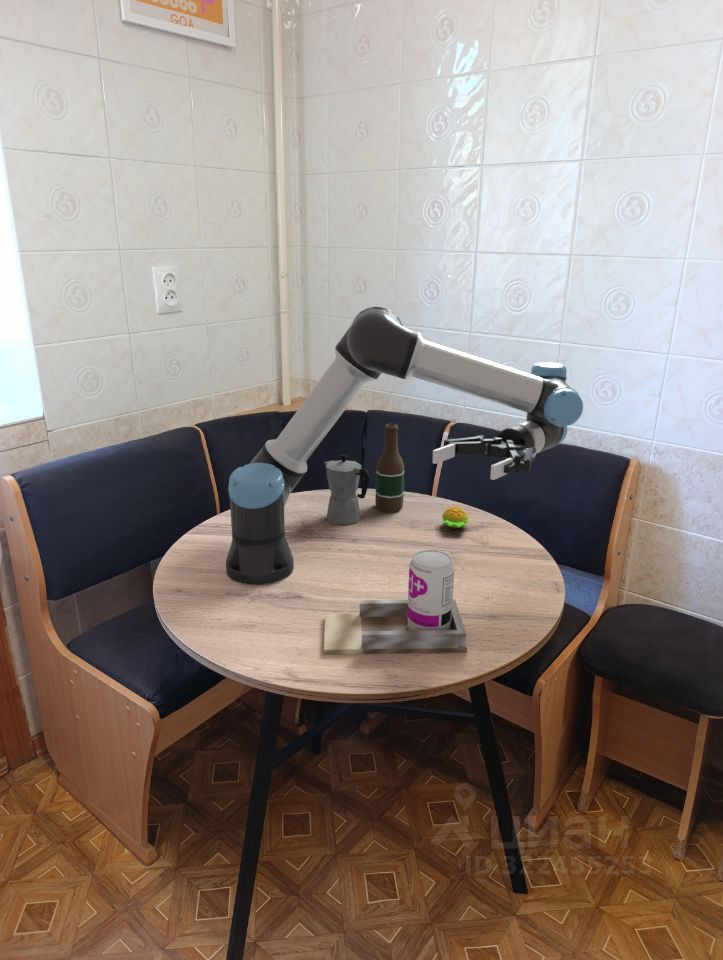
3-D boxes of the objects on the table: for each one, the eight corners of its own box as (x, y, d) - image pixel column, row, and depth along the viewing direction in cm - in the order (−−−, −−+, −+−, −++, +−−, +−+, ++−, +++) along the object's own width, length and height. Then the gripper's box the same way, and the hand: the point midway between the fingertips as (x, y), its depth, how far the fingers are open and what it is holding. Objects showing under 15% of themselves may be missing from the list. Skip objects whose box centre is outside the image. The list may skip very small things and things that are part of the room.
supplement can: (419, 645, 120) (422, 572, 115) (399, 622, 128) (402, 552, 122) (458, 636, 123) (463, 564, 118) (437, 614, 130) (441, 545, 125)
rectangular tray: (324, 654, 119) (323, 635, 118) (325, 618, 131) (324, 600, 129) (467, 652, 120) (468, 633, 119) (455, 617, 132) (457, 599, 130)
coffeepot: (313, 517, 178) (312, 453, 172) (336, 507, 185) (336, 445, 179) (358, 532, 169) (358, 466, 163) (380, 521, 176) (381, 457, 170)
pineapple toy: (468, 521, 176) (469, 503, 175) (467, 537, 167) (468, 517, 165) (442, 519, 177) (443, 501, 176) (440, 535, 168) (441, 515, 166)
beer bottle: (408, 507, 185) (411, 424, 177) (390, 515, 180) (393, 430, 171) (387, 500, 190) (389, 419, 182) (369, 507, 185) (370, 424, 176)
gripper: (571, 472, 136) (517, 499, 121) (470, 447, 152) (411, 468, 137) (575, 436, 133) (521, 460, 118) (472, 415, 149) (412, 433, 134)
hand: (462, 464), depth 128 cm, fingers open, 13 cm apart
